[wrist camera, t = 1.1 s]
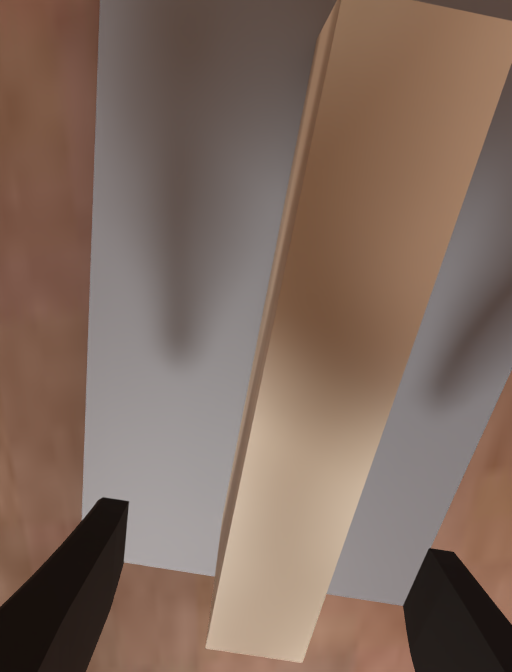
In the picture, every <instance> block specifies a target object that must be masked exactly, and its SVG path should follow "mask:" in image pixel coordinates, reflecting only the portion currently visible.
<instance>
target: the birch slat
mask: <svg viewBox="0 0 512 672" xmlns="http://www.w3.org/2000/svg"><path fill="white" fill-rule="evenodd" d="M511 64H512V21H510V20H505V19H500V18H496V17H491V16H486V15H481V14H476V13H472V12H467V11H462V10H457V9H453V8H448V7H443V6H438V5H433V4H429V3H424V2H419V1H414V0H337V1H336V3H335V5H334V7H333V9H332V11H331V13H330V15H329V17H328V19H327V20H326V22H325V24H324V26H323V28H322V30H321V32H320V34H319V36H318V38H317V41H316V46H315V51H314V56H313V61H312V66H311V71H310V76H309V81H308V87H307V92H306V97H305V102H304V107H303V112H302V117H301V122H300V127H299V132H298V137H297V142H296V147H295V152H294V157H293V162H292V167H291V173H290V178H289V183H288V188H287V193H286V198H285V203H284V208H283V213H282V218H281V223H280V228H279V233H278V238H277V243H276V248H275V253H274V259H273V264H272V269H271V274H270V279H269V284H268V289H267V294H266V299H265V304H264V309H263V314H262V319H261V324H260V329H259V334H258V339H257V345H256V350H255V355H254V360H253V365H252V370H251V375H250V380H249V385H248V390H247V395H246V400H245V405H244V410H243V415H242V420H241V425H240V431H239V436H238V441H237V446H236V451H235V456H234V461H233V466H232V471H231V476H230V481H229V486H228V491H227V496H226V501H225V506H224V511H223V517H222V525H221V533H220V540H219V548H218V556H217V563H216V571H215V578H214V586H213V594H212V601H211V609H210V616H209V624H208V632H207V639H206V647H205V648H206V649H212V650H219V651H226V652H232V653H239V654H246V655H252V656H259V657H266V658H272V659H279V660H286V661H293V662H299V663H302V662H303V659H304V657H305V654H306V651H307V648H308V645H309V642H310V639H311V637H312V634H313V631H314V628H315V625H316V622H317V619H318V616H319V614H320V611H321V608H322V605H323V602H324V599H325V596H326V594H327V591H328V588H329V585H330V582H331V579H332V576H333V574H334V571H335V568H336V565H337V562H338V559H339V556H340V553H341V551H342V548H343V545H344V542H345V539H346V536H347V533H348V531H349V528H350V525H351V522H352V519H353V516H354V513H355V510H356V508H357V505H358V502H359V499H360V496H361V493H362V490H363V488H364V485H365V482H366V479H367V476H368V473H369V470H370V468H371V465H372V462H373V459H374V456H375V453H376V450H377V447H378V445H379V442H380V439H381V436H382V433H383V430H384V427H385V425H386V422H387V419H388V416H389V413H390V410H391V407H392V405H393V402H394V399H395V396H396V393H397V390H398V387H399V384H400V382H401V379H402V376H403V373H404V370H405V367H406V364H407V362H408V359H409V356H410V353H411V350H412V347H413V344H414V341H415V339H416V336H417V333H418V330H419V327H420V324H421V321H422V319H423V316H424V313H425V310H426V307H427V304H428V301H429V299H430V296H431V293H432V290H433V287H434V284H435V281H436V278H437V276H438V273H439V270H440V267H441V264H442V261H443V258H444V256H445V253H446V250H447V247H448V244H449V241H450V238H451V235H452V233H453V230H454V227H455V224H456V221H457V218H458V215H459V213H460V210H461V207H462V204H463V201H464V198H465V195H466V193H467V190H468V187H469V184H470V181H471V178H472V175H473V172H474V170H475V167H476V164H477V161H478V158H479V155H480V152H481V150H482V147H483V144H484V141H485V138H486V135H487V132H488V130H489V127H490V124H491V121H492V118H493V115H494V112H495V109H496V107H497V104H498V101H499V98H500V95H501V92H502V89H503V87H504V84H505V81H506V78H507V75H508V72H509V69H510V66H511Z"/></svg>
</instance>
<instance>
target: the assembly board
mask: <svg viewBox="0 0 512 672" xmlns="http://www.w3.org/2000/svg"><path fill="white" fill-rule="evenodd" d="M336 1H337V0H100V15H99V43H98V72H97V101H96V129H95V158H94V186H93V215H92V243H91V272H90V300H89V329H88V357H87V386H86V414H85V443H84V471H83V500H82V520H83V519H84V518H85V516H86V515H87V514H88V513H89V511H90V510H91V509H92V507H93V506H94V505H95V503H96V502H97V501H98V500H99V499H101V498H102V497H106V498H112V499H118V500H125V501H129V508H128V520H127V531H126V542H125V554H124V562H125V563H131V564H138V565H144V566H151V567H157V568H164V569H170V570H176V571H183V572H189V573H196V574H202V575H208V576H215V571H216V563H217V556H218V548H219V540H220V533H221V525H222V517H223V511H224V506H225V501H226V496H227V491H228V486H229V481H230V476H231V471H232V466H233V461H234V456H235V451H236V446H237V441H238V436H239V431H240V425H241V420H242V415H243V410H244V405H245V400H246V395H247V390H248V385H249V380H250V375H251V370H252V365H253V360H254V355H255V350H256V345H257V339H258V334H259V329H260V324H261V319H262V314H263V309H264V304H265V299H266V294H267V289H268V284H269V279H270V274H271V269H272V264H273V259H274V253H275V248H276V243H277V238H278V233H279V228H280V223H281V218H282V213H283V208H284V203H285V198H286V193H287V188H288V183H289V178H290V173H291V167H292V162H293V157H294V152H295V147H296V142H297V137H298V132H299V127H300V122H301V117H302V112H303V107H304V102H305V97H306V92H307V87H308V81H309V76H310V71H311V66H312V61H313V56H314V51H315V46H316V41H317V38H318V36H319V34H320V32H321V30H322V28H323V26H324V24H325V22H326V20H327V19H328V17H329V15H330V13H331V11H332V9H333V7H334V5H335V3H336ZM414 1H419V2H424V3H429V4H433V5H438V6H443V7H448V8H453V9H457V10H462V11H467V12H472V13H476V14H481V15H486V16H491V17H496V18H500V19H505V20H510V21H512V0H414ZM511 370H512V64H511V66H510V69H509V72H508V75H507V78H506V81H505V84H504V87H503V89H502V92H501V95H500V98H499V101H498V104H497V107H496V109H495V112H494V115H493V118H492V121H491V124H490V127H489V130H488V132H487V135H486V138H485V141H484V144H483V147H482V150H481V152H480V155H479V158H478V161H477V164H476V167H475V170H474V172H473V175H472V178H471V181H470V184H469V187H468V190H467V193H466V195H465V198H464V201H463V204H462V207H461V210H460V213H459V215H458V218H457V221H456V224H455V227H454V230H453V233H452V235H451V238H450V241H449V244H448V247H447V250H446V253H445V256H444V258H443V261H442V264H441V267H440V270H439V273H438V276H437V278H436V281H435V284H434V287H433V290H432V293H431V296H430V299H429V301H428V304H427V307H426V310H425V313H424V316H423V319H422V321H421V324H420V327H419V330H418V333H417V336H416V339H415V341H414V344H413V347H412V350H411V353H410V356H409V359H408V362H407V364H406V367H405V370H404V373H403V376H402V379H401V382H400V384H399V387H398V390H397V393H396V396H395V399H394V402H393V405H392V407H391V410H390V413H389V416H388V419H387V422H386V425H385V427H384V430H383V433H382V436H381V439H380V442H379V445H378V447H377V450H376V453H375V456H374V459H373V462H372V465H371V468H370V470H369V473H368V476H367V479H366V482H365V485H364V488H363V490H362V493H361V496H360V499H359V502H358V505H357V508H356V510H355V513H354V516H353V519H352V522H351V525H350V528H349V531H348V533H347V536H346V539H345V542H344V545H343V548H342V551H341V553H340V556H339V559H338V562H337V565H336V568H335V571H334V574H333V576H332V579H331V582H330V585H329V588H328V591H327V594H330V595H337V596H343V597H350V598H356V599H362V600H369V601H375V602H382V603H388V604H395V605H401V606H403V604H404V602H405V600H406V598H407V596H408V593H409V591H410V589H411V587H412V585H413V582H414V580H415V578H416V576H417V573H418V571H419V569H420V567H421V565H422V562H423V560H424V558H425V556H426V554H427V551H428V549H429V548H431V546H432V544H433V541H434V539H435V537H436V535H437V533H438V530H439V528H440V526H441V524H442V522H443V519H444V517H445V515H446V513H447V511H448V508H449V506H450V504H451V502H452V500H453V497H454V495H455V493H456V491H457V489H458V486H459V484H460V482H461V480H462V478H463V475H464V473H465V471H466V469H467V467H468V464H469V462H470V460H471V458H472V456H473V453H474V451H475V449H476V447H477V445H478V442H479V440H480V438H481V436H482V434H483V431H484V429H485V427H486V425H487V423H488V420H489V418H490V416H491V414H492V412H493V409H494V407H495V405H496V403H497V401H498V398H499V396H500V394H501V392H502V390H503V387H504V385H505V383H506V381H507V379H508V376H509V374H510V372H511Z"/></svg>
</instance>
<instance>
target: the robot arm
mask: <svg viewBox="0 0 512 672" xmlns="http://www.w3.org/2000/svg"><path fill="white" fill-rule="evenodd" d="M128 508H129V501H125V500H118V499H112V498H106V497H102V498H101V499H99V500H98V501H97V502H96V503H95V505H94V506H93V507H92V509H91V510H90V511H89V513H88V514H87V515H86V516H85V518H84V519H83V520H82V521H81V522H80V524H79V525H78V526H77V527H76V528H75V530H74V531H73V532H72V533H71V534H70V535H69V537H68V538H67V539H66V540H65V541H64V542H63V543H62V545H61V546H60V547H59V548H58V549H57V550H56V551H55V552H54V553H53V554H52V555H51V556H50V557H49V559H48V560H47V561H46V562H45V563H44V564H43V565H42V566H41V567H40V568H39V569H38V570H37V571H36V572H35V573H34V574H33V575H32V577H31V578H30V579H28V580H27V581H26V582H25V583H24V584H23V585H22V586H21V587H20V588H19V589H18V590H17V591H16V592H15V593H14V594H13V595H12V596H11V597H10V598H9V599H8V600H7V601H6V602H5V603H4V604H3V605H2V606H1V607H0V672H86V670H87V667H88V665H89V662H90V660H91V657H92V655H93V652H94V650H95V647H96V644H97V642H98V639H99V637H100V634H101V632H102V629H103V627H104V624H105V622H106V619H107V617H108V614H109V611H110V609H111V605H112V602H113V599H114V595H115V592H116V588H117V585H118V581H119V578H120V574H121V571H122V567H123V564H124V554H125V542H126V531H127V520H128ZM403 608H404V616H405V623H406V630H407V636H408V642H409V648H410V653H411V657H412V661H413V665H414V669H415V672H512V625H511V623H510V622H509V621H508V620H507V618H506V617H505V616H504V615H503V613H502V612H501V611H500V610H499V608H498V607H497V606H496V605H495V603H494V602H493V601H492V600H491V598H490V597H489V596H488V594H487V593H486V592H485V591H484V589H483V588H482V587H481V586H480V584H479V583H478V582H477V580H476V579H475V578H474V577H473V575H472V574H471V573H470V572H469V570H468V569H467V568H466V567H465V565H464V564H463V563H462V562H461V560H460V559H459V558H458V557H457V556H456V554H455V553H454V552H450V551H444V550H438V549H431V548H429V549H428V551H427V554H426V556H425V558H424V560H423V562H422V565H421V567H420V569H419V571H418V573H417V576H416V578H415V580H414V582H413V585H412V587H411V589H410V591H409V593H408V596H407V598H406V600H405V602H404V604H403Z"/></svg>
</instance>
